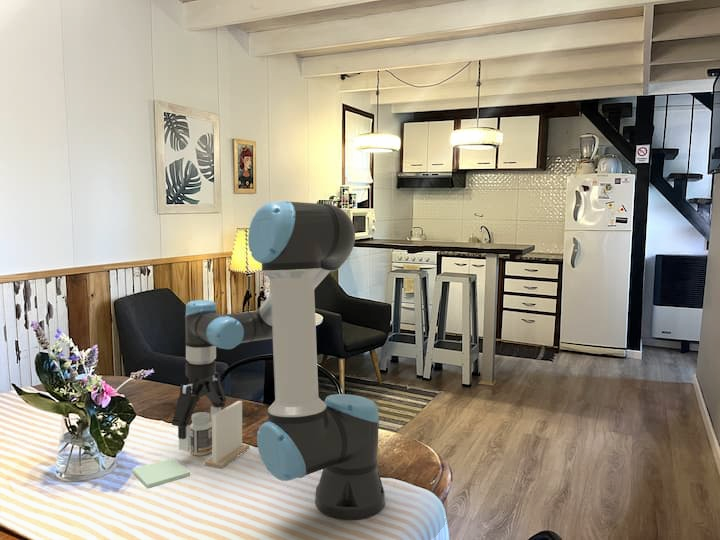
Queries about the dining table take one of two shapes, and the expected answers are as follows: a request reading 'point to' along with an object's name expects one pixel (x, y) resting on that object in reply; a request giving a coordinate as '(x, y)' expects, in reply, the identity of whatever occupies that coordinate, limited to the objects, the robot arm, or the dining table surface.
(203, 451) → the pill bottle
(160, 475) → the coaster
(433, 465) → the dining table surface
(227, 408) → the screen
